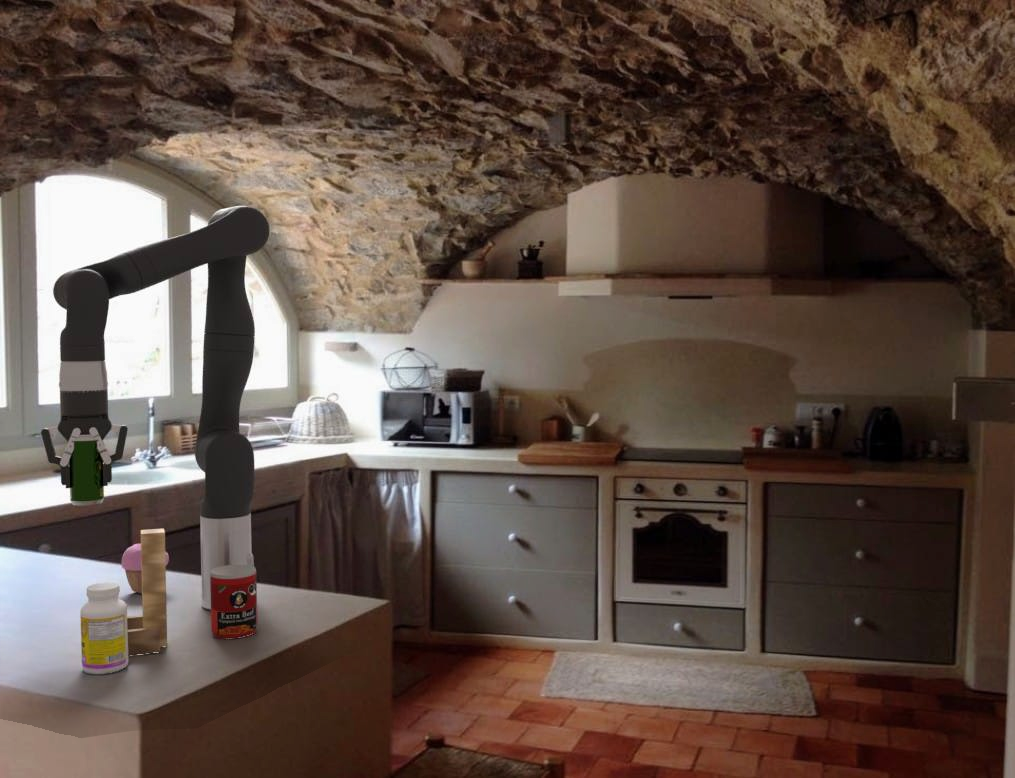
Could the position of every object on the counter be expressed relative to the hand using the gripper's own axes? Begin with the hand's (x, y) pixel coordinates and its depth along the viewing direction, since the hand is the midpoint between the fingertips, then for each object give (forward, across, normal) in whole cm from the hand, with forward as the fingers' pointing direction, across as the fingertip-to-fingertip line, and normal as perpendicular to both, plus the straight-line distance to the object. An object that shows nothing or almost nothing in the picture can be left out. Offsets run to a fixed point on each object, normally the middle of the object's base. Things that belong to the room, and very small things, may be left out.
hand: (86, 486), depth 170 cm
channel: (+25, -5, +12) cm, 29 cm away
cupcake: (+26, -10, -25) cm, 37 cm away
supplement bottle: (+26, -2, +21) cm, 33 cm away
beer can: (+3, 0, 0) cm, 3 cm away
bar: (+25, -10, +12) cm, 30 cm away
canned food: (+26, -23, +10) cm, 36 cm away
